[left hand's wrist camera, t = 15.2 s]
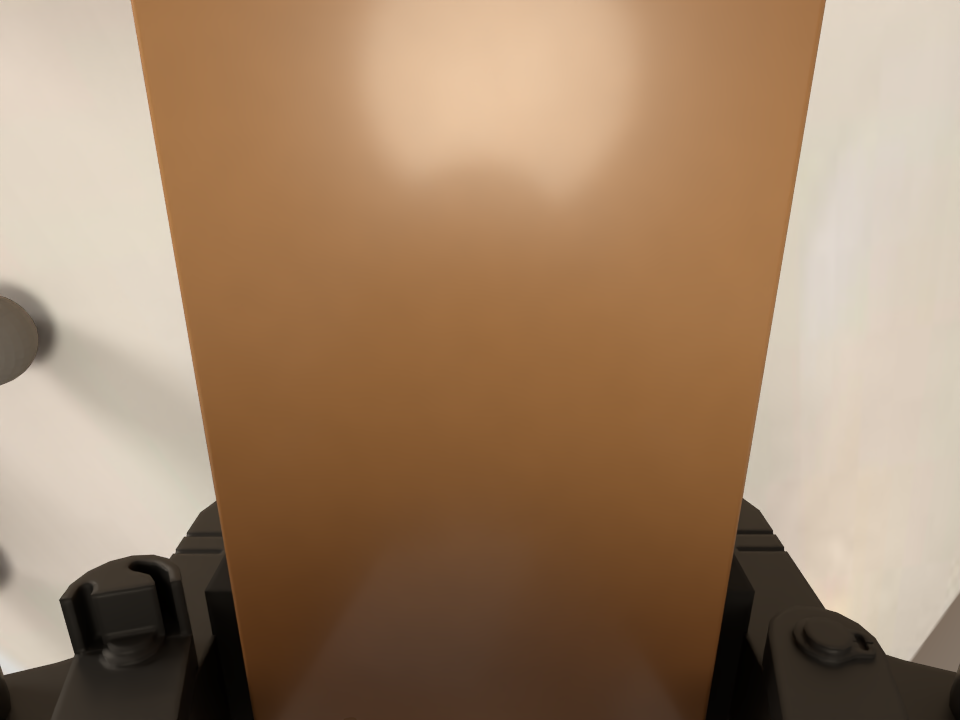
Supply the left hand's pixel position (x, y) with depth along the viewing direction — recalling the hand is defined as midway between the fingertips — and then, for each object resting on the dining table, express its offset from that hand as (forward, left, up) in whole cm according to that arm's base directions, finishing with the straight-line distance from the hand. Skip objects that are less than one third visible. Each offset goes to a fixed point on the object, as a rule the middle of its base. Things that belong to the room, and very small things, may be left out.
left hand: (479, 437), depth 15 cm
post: (+28, +6, -1) cm, 29 cm away
